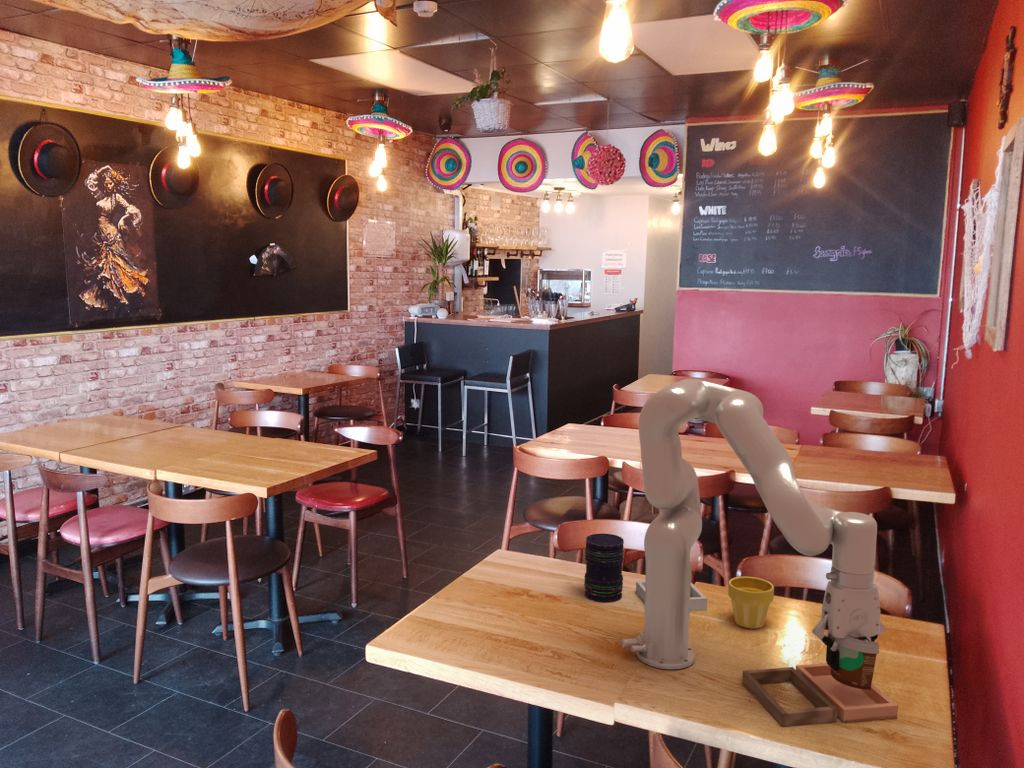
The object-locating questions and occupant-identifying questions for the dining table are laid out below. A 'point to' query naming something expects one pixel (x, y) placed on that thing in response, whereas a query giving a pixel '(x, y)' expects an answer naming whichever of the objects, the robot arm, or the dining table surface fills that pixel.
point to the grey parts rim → (696, 600)
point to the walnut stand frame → (801, 716)
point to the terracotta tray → (849, 696)
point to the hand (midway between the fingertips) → (846, 665)
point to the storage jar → (604, 568)
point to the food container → (855, 662)
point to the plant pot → (750, 600)
